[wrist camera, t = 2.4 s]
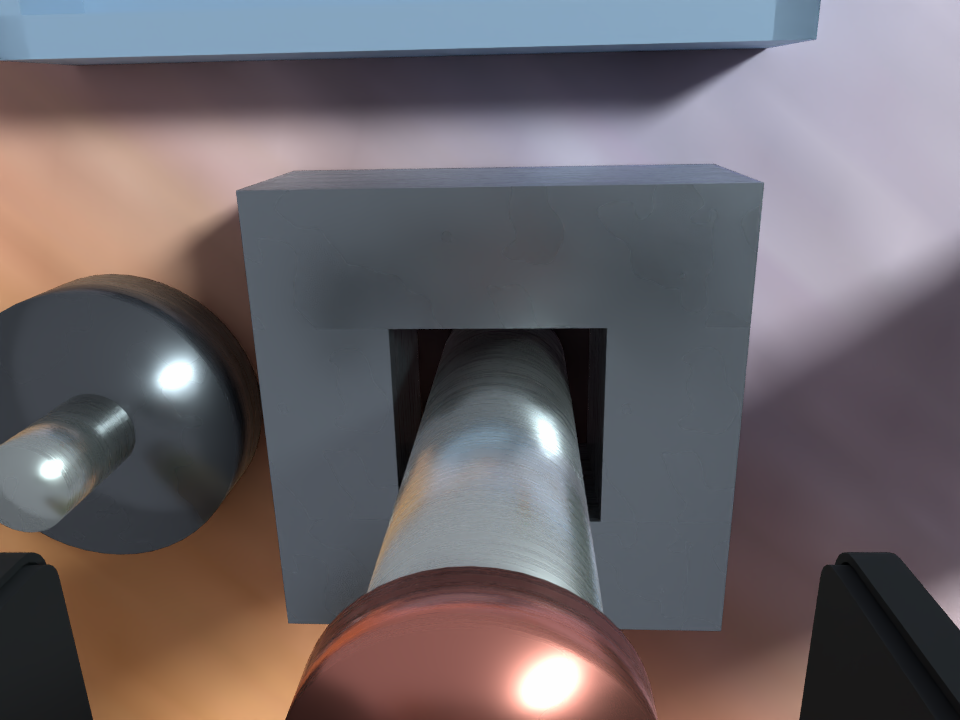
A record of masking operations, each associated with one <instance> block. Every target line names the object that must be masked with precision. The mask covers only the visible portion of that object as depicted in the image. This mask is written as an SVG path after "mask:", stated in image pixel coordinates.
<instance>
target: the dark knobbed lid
mask: <svg viewBox="0 0 960 720" xmlns="http://www.w3.org/2000/svg"><path fill="white" fill-rule="evenodd" d="M261 421H262V410H261V398H260V393H259V388H258V384H257V381H256V378H255V375H254V372H253V369H252V367H251V365H250V363H249V361H248V358H247V356H246V354H245V353H244V351H243V349H242V348H241V346H240V345H239V343H238V342H237V340H236V339H235V337H234V336H233V335H232V334H231V332H230V331H229V330H228V329H227V328H226V326H225V325H224V324H223V323H222V322H221V321H220V320H219V319H218V318H217V317H216V316H215V315H214V314H213V313H212V312H210V311H209V310H208V309H206V308H205V307H204V306H202V305H201V304H200V303H199V302H197V301H196V300H194V299H192V298H191V297H189V296H187V295H186V294H184V293H182V292H181V291H179V290H176V289H174V288H172V287H170V286H167V285H165V284H163V283H160V282H156V281H153V280H150V279H147V278H142V277H136V276H131V275H118V274H106V275H94V276H89V277H85V278H80V279H77V280H74V281H71V282H69V283H66V284H63V285H61V286H58V287H56V288H54V289H51V290H49V291H46V292H44V293H42V294H39V295H37V296H34V297H32V298H30V299H27V300H25V301H22V302H20V303H18V304H15V305H13V306H12V307H10V308H8V309H6V310H4V311H3V312H1V313H0V523H1V524H3V525H5V526H7V527H9V528H12V529H14V530H18V531H23V532H41V533H43V534H45V535H47V536H49V537H50V538H53V539H55V540H57V541H60V542H62V543H65V544H67V545H70V546H73V547H77V548H80V549H83V550H88V551H93V552H99V553H106V554H138V553H144V552H149V551H154V550H158V549H161V548H164V547H167V546H170V545H172V544H174V543H176V542H178V541H181V540H183V539H184V538H186V537H187V536H189V535H190V534H192V533H194V532H195V531H196V530H198V529H199V528H200V527H201V526H202V525H203V524H204V523H205V522H207V521H208V519H209V518H210V517H211V516H212V515H213V513H214V512H215V511H216V510H217V509H218V507H219V506H220V504H221V503H222V502H223V500H224V499H225V498H226V496H227V495H228V494H229V492H230V491H231V490H232V488H233V487H234V485H235V484H236V483H237V481H238V480H239V479H240V477H241V476H242V475H243V473H244V472H245V470H246V468H247V467H248V465H249V463H250V462H251V460H252V458H253V455H254V453H255V450H256V448H257V444H258V440H259V436H260V432H261Z"/></svg>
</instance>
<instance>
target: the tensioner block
mask: <svg viewBox="0 0 960 720" xmlns="http://www.w3.org/2000/svg"><path fill="white" fill-rule="evenodd" d="M763 189H764V183H763V182H761V181H758V180H756V179H753V178H750V177H748V176H745V175H742V174H740V173H737V172H734V171H732V170H729V169H726V168H724V167H721V166H719V165H716V164H679V165H618V166H557V167H496V168H436V169H375V170H314V171H292V172H289V173H286V174H283V175H280V176H277V177H275V178H272V179H269V180H266V181H263V182H260V183H257V184H254V185H251V186H248V187H245V188H242V189H239V190H237V191H236V195H237V203H238V211H239V220H240V228H241V236H242V244H243V253H244V261H245V269H246V277H247V286H248V294H249V302H250V311H251V319H252V327H253V335H254V344H255V352H256V360H257V368H258V377H259V385H260V393H261V401H262V410H263V418H264V426H265V434H266V443H267V451H268V459H269V467H270V476H271V484H272V492H273V501H274V509H275V517H276V525H277V534H278V542H279V550H280V558H281V567H282V575H283V583H284V591H285V600H286V608H287V616H288V623H298V624H330V623H331V622H332V621H333V620H334V619H335V618H336V617H337V616H338V615H339V614H340V613H341V612H342V611H343V610H344V609H345V608H347V607H348V606H349V605H350V604H352V603H353V602H354V601H355V600H357V599H358V598H359V597H361V596H363V595H364V594H366V593H367V591H368V588H369V585H370V581H371V578H372V575H373V572H374V569H375V566H376V562H377V559H378V556H379V553H380V550H381V547H382V543H383V540H384V537H385V534H386V531H387V527H388V524H389V521H390V518H391V515H392V512H393V508H394V505H395V502H396V499H397V496H398V493H399V489H400V486H401V483H402V480H403V477H404V474H405V470H406V467H407V464H408V461H409V458H410V454H411V451H412V448H413V445H414V442H415V439H416V435H417V432H418V429H419V426H420V423H421V400H420V380H419V360H418V340H417V329H513V328H590V337H589V376H588V414H587V443H578V448H579V454H580V461H581V467H582V474H583V481H584V487H585V494H586V500H587V507H588V514H589V520H590V527H591V534H592V540H593V547H594V553H595V560H596V567H597V573H598V580H599V586H600V593H601V600H602V606H603V613H604V614H605V615H606V616H607V617H608V618H609V619H610V620H611V621H612V622H613V623H614V624H615V625H616V626H617V627H618V628H619V629H636V630H692V631H721V626H722V615H723V605H724V594H725V584H726V574H727V563H728V553H729V542H730V532H731V522H732V511H733V501H734V490H735V480H736V470H737V459H738V449H739V438H740V428H741V418H742V407H743V397H744V387H745V376H746V366H747V355H748V345H749V335H750V324H751V314H752V303H753V293H754V283H755V272H756V262H757V251H758V241H759V231H760V220H761V210H762V199H763Z"/></svg>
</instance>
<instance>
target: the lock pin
mask: <svg viewBox="0 0 960 720" xmlns="http://www.w3.org/2000/svg"><path fill="white" fill-rule="evenodd" d="M285 720H658V718H657V713H656V708H655V703H654V699H653V694H652V689H651V685H650V682H649V679H648V676H647V673H646V671H645V668H644V665H643V664H642V662H641V660H640V658H639V656H638V654H637V653H636V651H635V649H634V647H633V646H632V645H631V643H630V642H629V641H628V639H627V638H626V637H625V635H624V634H623V633H622V631H621V630H620V629H619V628H618V627H617V626H616V625H615V624H614V623H613V622H612V621H611V620H610V619H609V618H608V617H607V616H606V615H605V614H604V613H603V606H602V600H601V593H600V586H599V580H598V573H597V567H596V560H595V553H594V547H593V540H592V534H591V527H590V520H589V514H588V507H587V500H586V494H585V487H584V481H583V474H582V467H581V461H580V454H579V448H578V441H577V434H576V428H575V421H574V415H573V408H572V401H571V395H570V388H569V382H568V375H567V368H566V362H565V356H564V351H563V347H562V345H561V342H560V340H559V338H558V336H557V335H556V333H555V332H554V330H553V329H552V328H513V329H453V331H452V332H451V334H450V335H449V337H448V339H447V341H446V343H445V347H444V350H443V353H442V356H441V359H440V362H439V366H438V369H437V372H436V375H435V378H434V381H433V385H432V388H431V391H430V394H429V397H428V400H427V404H426V407H425V410H424V413H423V416H422V420H421V423H420V426H419V429H418V432H417V435H416V439H415V442H414V445H413V448H412V451H411V454H410V458H409V461H408V464H407V467H406V470H405V474H404V477H403V480H402V483H401V486H400V489H399V493H398V496H397V499H396V502H395V505H394V508H393V512H392V515H391V518H390V521H389V524H388V527H387V531H386V534H385V537H384V540H383V543H382V547H381V550H380V553H379V556H378V559H377V562H376V566H375V569H374V572H373V575H372V578H371V581H370V585H369V588H368V591H367V593H366V594H364V595H363V596H361V597H359V598H358V599H357V600H355V601H354V602H353V603H352V604H350V605H349V606H348V607H347V608H345V609H344V610H343V611H342V612H341V613H340V614H339V615H338V616H337V617H336V618H335V619H334V620H333V621H332V622H331V623H330V624H329V625H328V627H327V628H326V629H325V631H324V632H323V634H322V635H321V637H320V638H319V639H318V641H317V643H316V645H315V647H314V649H313V651H312V653H311V655H310V657H309V659H308V662H307V664H306V667H305V670H304V672H303V675H302V677H301V680H300V683H299V685H298V688H297V690H296V693H295V696H294V698H293V701H292V704H291V706H290V709H289V711H288V714H287V717H286V719H285Z"/></svg>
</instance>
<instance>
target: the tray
mask: <svg viewBox="0 0 960 720" xmlns="http://www.w3.org/2000/svg"><path fill="white" fill-rule="evenodd" d="M820 1H821V0H0V61H11V62H28V63H45V64H61V65H104V64H144V63H185V62H225V61H265V60H305V59H345V58H385V57H426V56H466V55H506V54H546V53H586V52H627V51H667V50H707V49H747V48H771V47H777V46H782V45H788V44H793V43H799V42H804V41H810V40H815V39H816V37H817V28H818V19H819V10H820Z"/></svg>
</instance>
